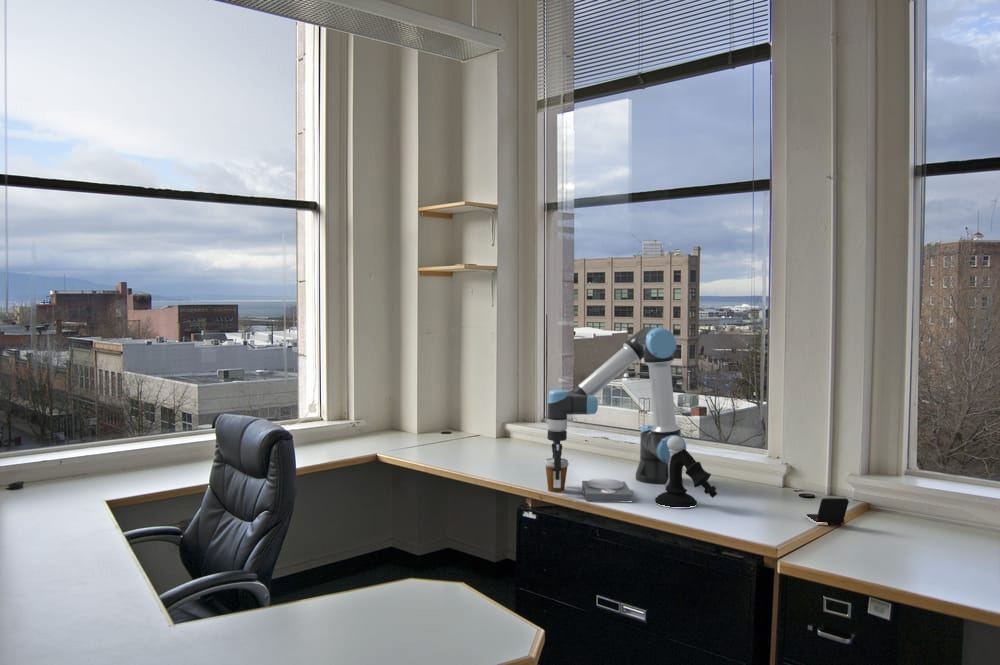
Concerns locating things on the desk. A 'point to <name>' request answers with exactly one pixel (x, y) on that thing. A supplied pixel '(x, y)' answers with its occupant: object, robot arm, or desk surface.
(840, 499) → the handheld gaming console
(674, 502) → the sculpture
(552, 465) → the disposable coffee cup
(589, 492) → the dial scale
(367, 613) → the desk surface
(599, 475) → the desk surface
